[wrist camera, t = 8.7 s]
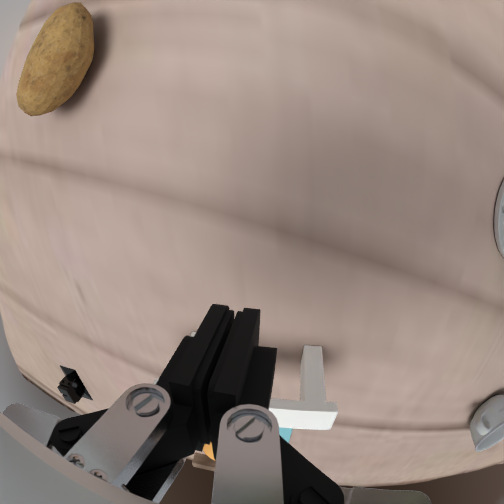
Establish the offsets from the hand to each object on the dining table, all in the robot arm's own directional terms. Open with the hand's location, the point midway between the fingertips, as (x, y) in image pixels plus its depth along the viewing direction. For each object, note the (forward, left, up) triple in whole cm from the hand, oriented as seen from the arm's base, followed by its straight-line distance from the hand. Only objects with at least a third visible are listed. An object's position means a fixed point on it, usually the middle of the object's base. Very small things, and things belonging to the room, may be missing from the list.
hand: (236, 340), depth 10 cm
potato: (+24, -19, -18) cm, 35 cm away
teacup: (-43, +29, -18) cm, 55 cm away
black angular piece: (+35, +33, -18) cm, 52 cm away
